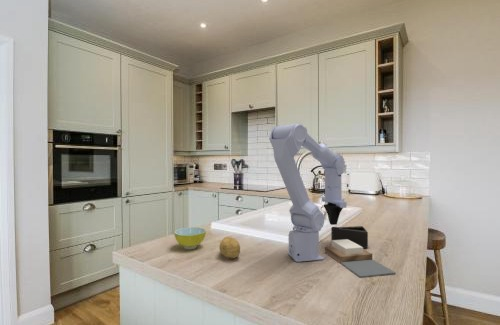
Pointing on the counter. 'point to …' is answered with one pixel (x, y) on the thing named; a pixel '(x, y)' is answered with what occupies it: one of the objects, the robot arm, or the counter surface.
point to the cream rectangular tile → (347, 247)
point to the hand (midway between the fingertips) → (333, 224)
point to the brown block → (347, 258)
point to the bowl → (190, 236)
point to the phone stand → (351, 235)
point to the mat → (367, 268)
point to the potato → (229, 247)
